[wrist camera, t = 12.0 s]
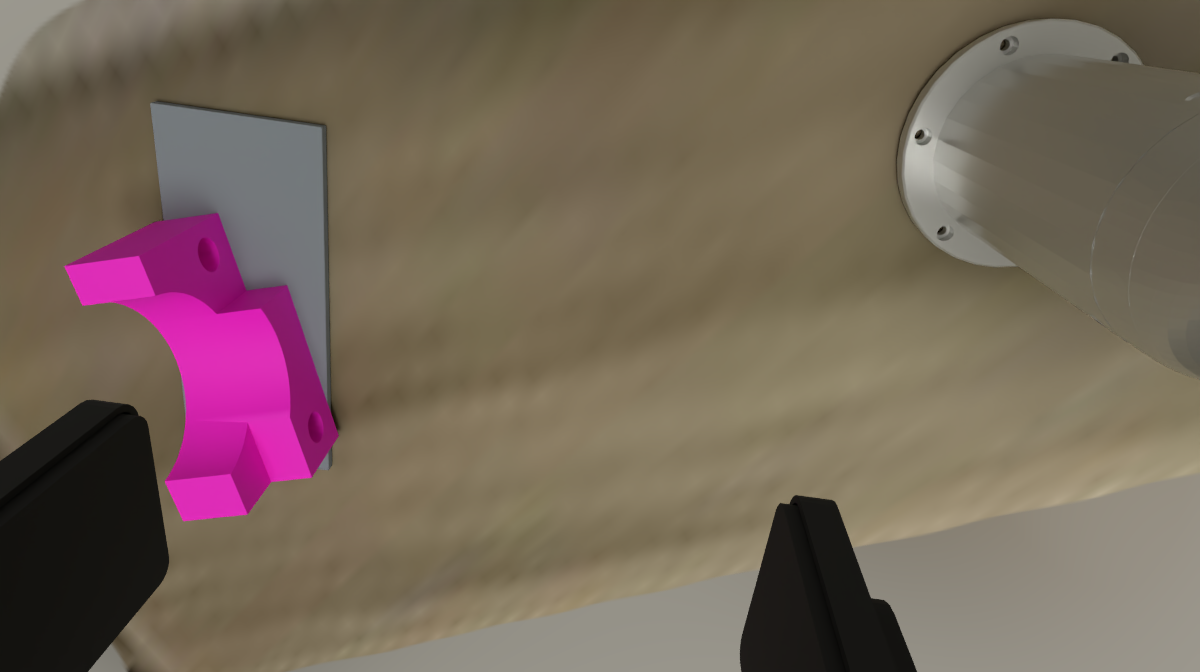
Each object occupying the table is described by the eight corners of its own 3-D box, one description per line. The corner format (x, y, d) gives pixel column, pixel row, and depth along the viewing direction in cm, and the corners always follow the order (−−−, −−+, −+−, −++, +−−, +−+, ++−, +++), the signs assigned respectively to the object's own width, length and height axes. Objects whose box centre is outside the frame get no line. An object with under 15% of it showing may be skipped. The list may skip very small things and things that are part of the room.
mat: (325, 125, 40) (321, 127, 40) (332, 464, 49) (328, 470, 49) (157, 101, 40) (150, 102, 39) (194, 447, 49) (189, 452, 48)
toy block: (338, 435, 48) (291, 509, 41) (245, 446, 48) (183, 521, 41) (260, 206, 41) (189, 249, 35) (155, 221, 42) (64, 266, 35)
